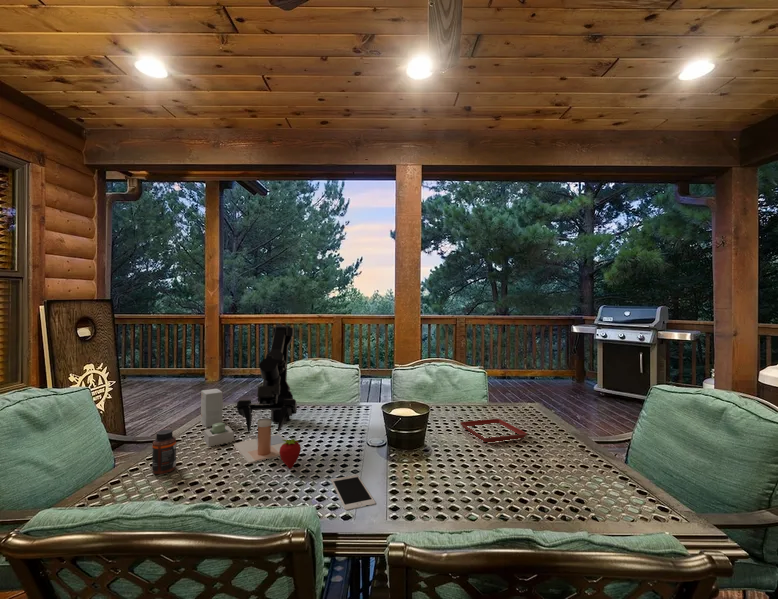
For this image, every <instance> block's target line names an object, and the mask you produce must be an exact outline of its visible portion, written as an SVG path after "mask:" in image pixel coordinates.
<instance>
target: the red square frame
mask: <svg viewBox="0 0 778 599" xmlns="http://www.w3.org/2000/svg"><path fill="white" fill-rule="evenodd" d="M490 423H500V424H501V425H503V426H505V427H507V428H508V429H510V430H512V431H514V432H515V433H517V434H519V435H509V436H500V437H491V438H484V437H483V436H481V435H480V434H478V433H476V432H475V431H473V430H472V429H470V428H468V427H467V426H475V425H482V424H490ZM459 424H460V425H461V427H462V428H463V429H464V428H465V429H466V430H468V431H469V432H470V433H472V434H473V435H475V436H476V437H478V438H479V439H481V440H483V441H484V442H495V441H503V440H510V439H518V438H523V439H524V438H526V436H527V435H528V433H527V432H525V431H523V430H522V429H520V428H518V427H516V426H514V425H512V424H510V423H508V422H506V421H504V420H502V419H500V418H491V419H490V418H489V419H479V420H469V421H460V422H459ZM465 429H464V430H465ZM466 430H465V431H466ZM470 433H469V434H470ZM473 435H472V436H473ZM476 437H475V438H476ZM479 439H478V440H479Z"/></svg>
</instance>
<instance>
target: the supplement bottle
mask: <svg viewBox="0 0 778 599" xmlns="http://www.w3.org/2000/svg"><path fill="white" fill-rule="evenodd" d="M173 434H174V433H173V430H172V429H162V430H159V431H157V432H156V436H155V440H153V441H152V445H151V446H152V450H151V453H152V454H151V455H152V456H151V457H152V458H151V459H152V460H151V461H152V462H151V463H152V464H151V467H152V473H153V474H154V475H165V474H169V473H171V472H172V471H173V472H174V471H175V469H176V468H177V439H176V437H175V436H173ZM168 472H169V473H168Z"/></svg>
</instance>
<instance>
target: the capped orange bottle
mask: <svg viewBox="0 0 778 599" xmlns="http://www.w3.org/2000/svg"><path fill="white" fill-rule="evenodd" d="M271 435H272V420H271V418H267V417H266V418H265V417H264V418H260V419H258V420H257V438H258V455H261V456H264V455H268V454H270V453H271Z"/></svg>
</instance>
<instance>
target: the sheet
mask: <svg viewBox="0 0 778 599" xmlns="http://www.w3.org/2000/svg"><path fill="white" fill-rule="evenodd" d="M283 440H286V438H284V437H283V436H281V435H280V434H279V433H277V434H271V453H270V454H268V455H264V456H261V455H258V437H257V438H253V439H249V440H244V441H239V442H236V443H234V442H233V443H232V446H233V445H234V446H233V447H234V448H235V449H237V450H238V451H239V452H238V451H237V450H236V451H237V452H238V453H239V454H240V456H241V457H242V456H243V457H244V458H243V457H242V458H243V459H244V460H245V462H246V463H247V462H248V463H247V464H248V465H250V464H255V463H258V462H257V461H259V462H263V461H266V459H267V460H271V459H275V458H279V457H280V453H279V452H280V447H281V446H282V445H283V444H284V443H286V441H283ZM262 460H263V461H262Z"/></svg>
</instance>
